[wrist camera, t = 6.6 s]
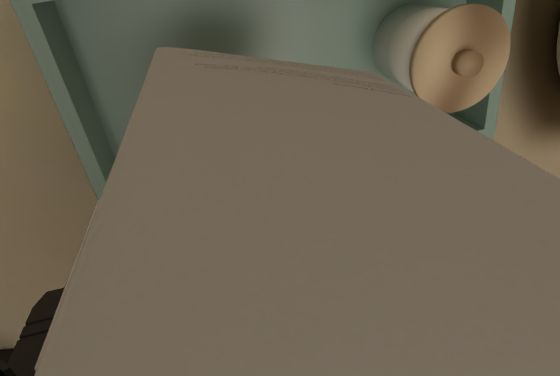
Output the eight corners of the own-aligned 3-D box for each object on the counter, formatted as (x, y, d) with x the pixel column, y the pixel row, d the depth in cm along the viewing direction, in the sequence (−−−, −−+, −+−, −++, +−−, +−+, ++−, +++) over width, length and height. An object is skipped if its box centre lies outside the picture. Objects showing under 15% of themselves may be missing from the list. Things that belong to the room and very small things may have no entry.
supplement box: (149, 38, 14) (-378, 1067, 1) (379, 69, 16) (1160, 472, 3) (147, 247, 18) (52, 963, 5) (331, 248, 20) (587, 737, 7)
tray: (117, 191, 34) (108, 223, 29) (34, -17, 25) (4, -14, 21) (458, 118, 37) (493, 138, 33) (480, -83, 29) (531, -92, 25)
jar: (372, 86, 33) (413, 112, 27) (371, 10, 30) (418, 20, 24) (438, 73, 34) (492, 96, 28) (443, -3, 31) (506, 4, 25)
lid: (407, 118, 27) (419, 126, 26) (411, 13, 24) (424, 16, 22) (496, 99, 28) (512, 106, 27) (511, -6, 24) (531, -4, 23)
